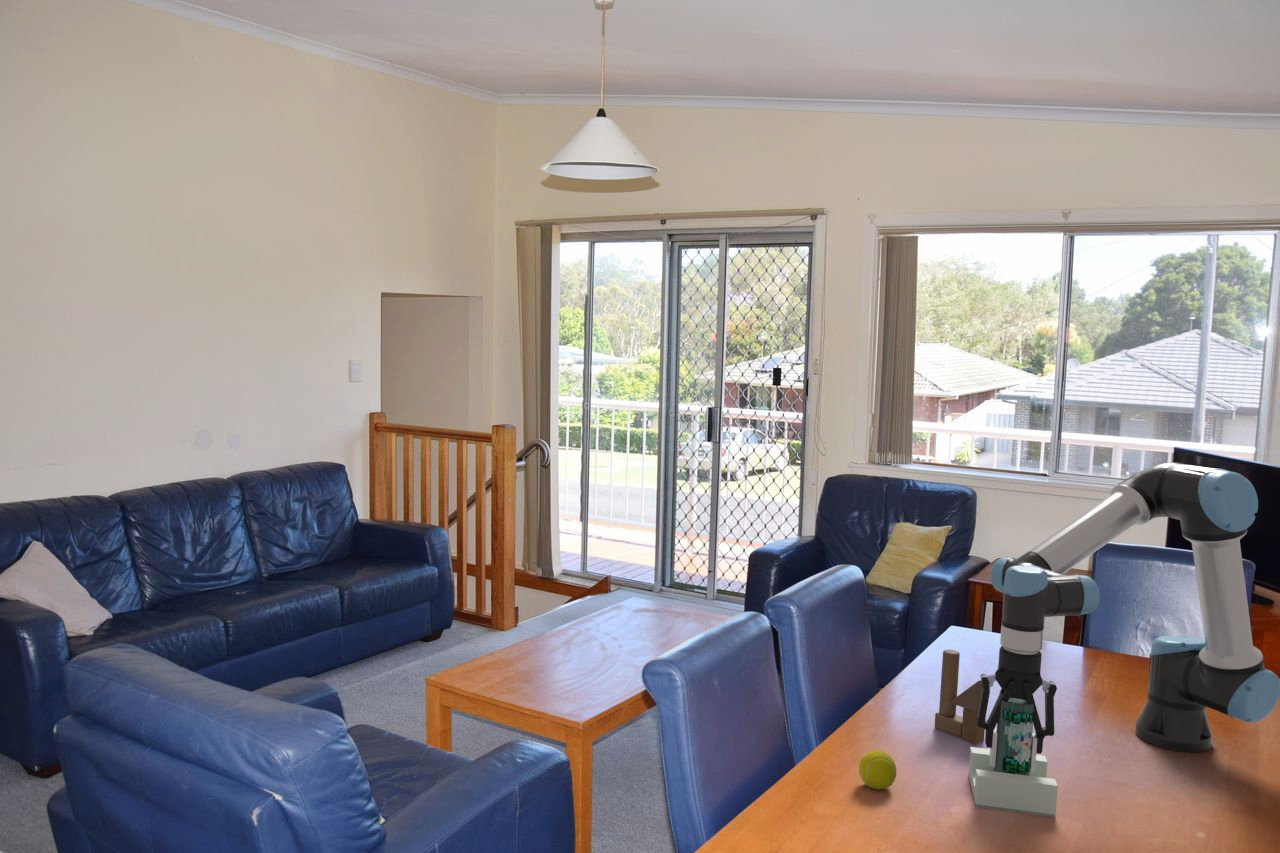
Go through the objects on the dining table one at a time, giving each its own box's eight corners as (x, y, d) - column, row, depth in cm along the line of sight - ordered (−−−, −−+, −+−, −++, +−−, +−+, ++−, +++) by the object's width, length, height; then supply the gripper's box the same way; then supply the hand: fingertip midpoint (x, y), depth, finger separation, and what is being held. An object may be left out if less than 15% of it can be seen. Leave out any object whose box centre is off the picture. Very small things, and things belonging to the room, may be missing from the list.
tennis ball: (855, 778, 199) (857, 744, 198) (890, 780, 198) (893, 746, 198) (861, 794, 192) (863, 758, 191) (898, 796, 191) (901, 760, 191)
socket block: (1042, 785, 199) (1044, 755, 198) (1055, 817, 185) (1057, 785, 185) (968, 775, 202) (970, 746, 201) (975, 806, 188) (977, 775, 188)
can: (1010, 784, 189) (1016, 707, 188) (987, 771, 195) (993, 696, 193) (1035, 780, 191) (1041, 703, 190) (1011, 767, 197) (1017, 692, 196)
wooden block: (974, 745, 218) (979, 663, 216) (933, 728, 226) (938, 650, 225) (984, 741, 220) (990, 661, 218) (944, 725, 229) (949, 647, 227)
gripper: (1071, 648, 192) (1062, 765, 194) (965, 637, 197) (957, 752, 199) (1079, 660, 185) (1069, 781, 187) (969, 648, 189) (960, 767, 191)
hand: (1011, 766), depth 193 cm, fingers closed on can, 6 cm apart
